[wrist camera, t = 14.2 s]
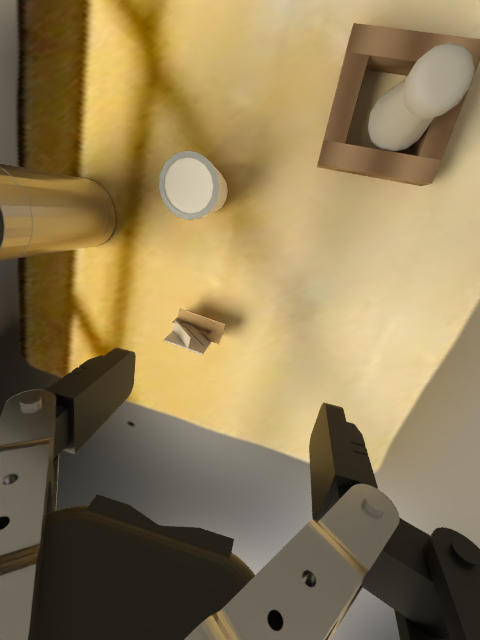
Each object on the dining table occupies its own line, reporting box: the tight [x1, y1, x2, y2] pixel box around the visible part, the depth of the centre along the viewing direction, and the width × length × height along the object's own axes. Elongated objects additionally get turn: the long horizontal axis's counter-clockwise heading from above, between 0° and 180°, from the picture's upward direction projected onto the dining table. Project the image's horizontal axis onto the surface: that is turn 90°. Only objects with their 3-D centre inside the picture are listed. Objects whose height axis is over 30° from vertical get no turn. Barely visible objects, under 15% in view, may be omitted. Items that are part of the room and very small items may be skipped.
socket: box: [317, 23, 480, 186], centre depth 31 cm, size 12×12×3 cm
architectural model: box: [164, 308, 225, 355], centre depth 42 cm, size 3×7×7 cm, turn 73°
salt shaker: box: [368, 42, 475, 152], centre depth 27 cm, size 6×6×13 cm
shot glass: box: [159, 151, 228, 220], centre depth 35 cm, size 7×7×7 cm
